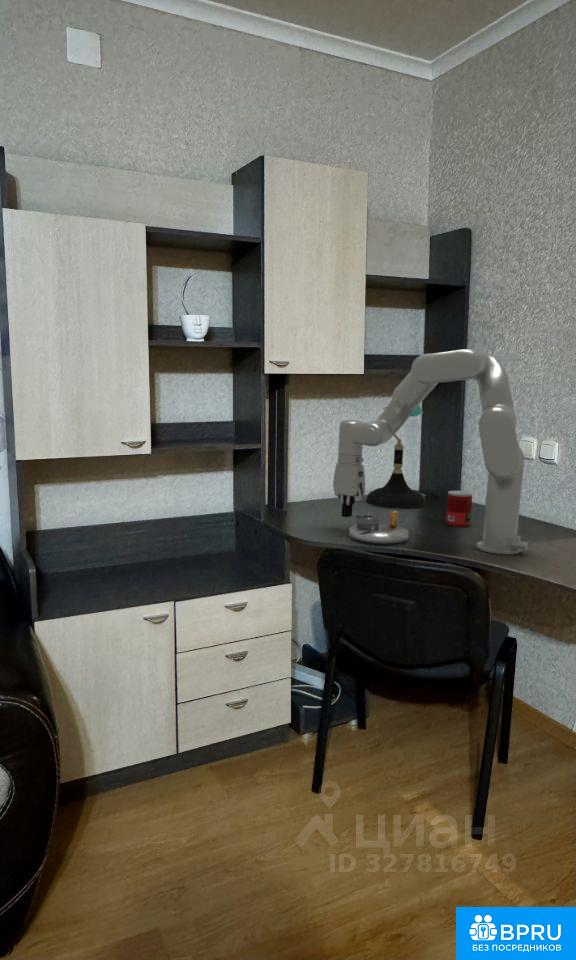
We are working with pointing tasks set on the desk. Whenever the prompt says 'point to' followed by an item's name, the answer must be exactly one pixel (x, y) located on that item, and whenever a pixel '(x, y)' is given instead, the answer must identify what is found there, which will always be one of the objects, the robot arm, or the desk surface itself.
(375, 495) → the banker's lamp
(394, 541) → the turntable
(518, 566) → the desk surface
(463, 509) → the canned food
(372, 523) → the cover
